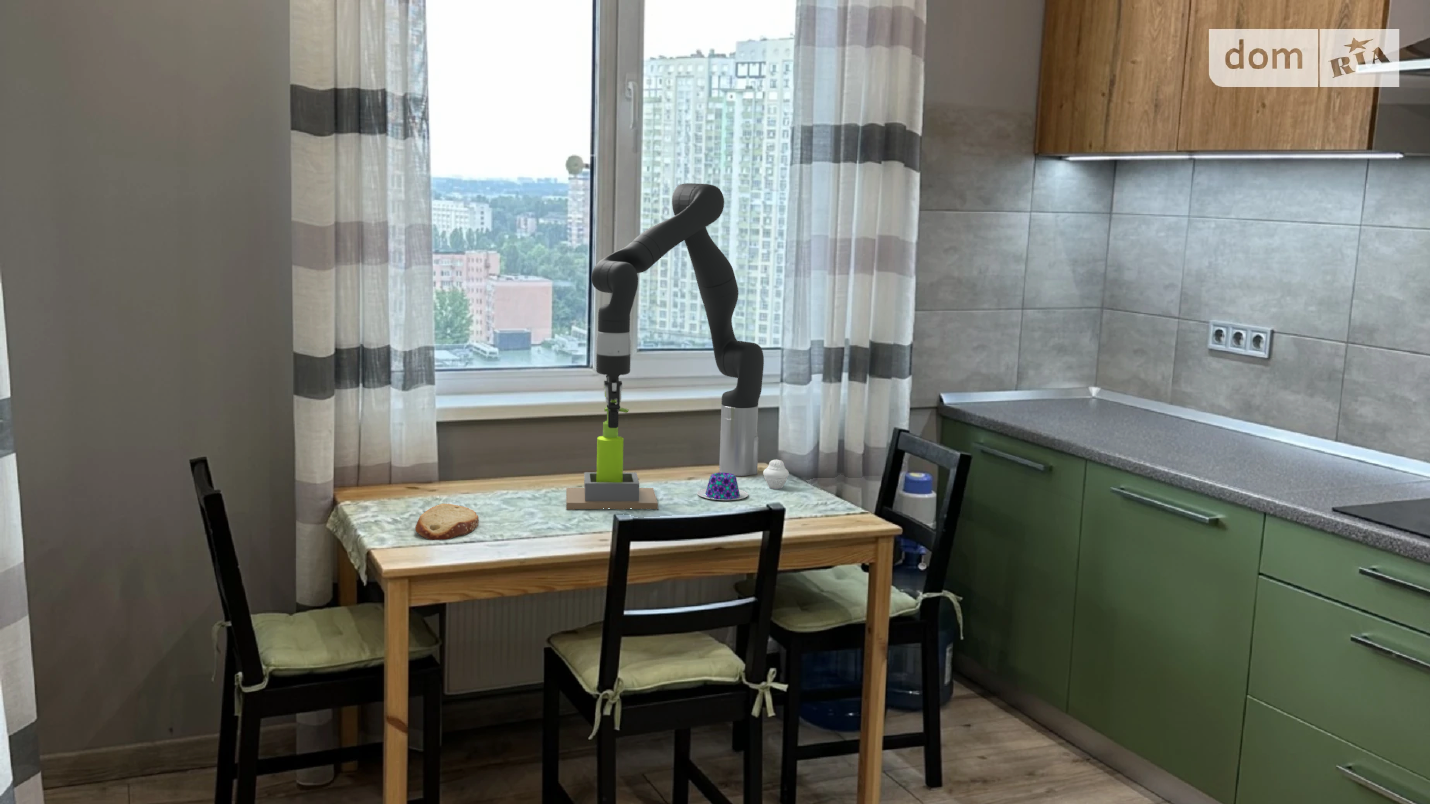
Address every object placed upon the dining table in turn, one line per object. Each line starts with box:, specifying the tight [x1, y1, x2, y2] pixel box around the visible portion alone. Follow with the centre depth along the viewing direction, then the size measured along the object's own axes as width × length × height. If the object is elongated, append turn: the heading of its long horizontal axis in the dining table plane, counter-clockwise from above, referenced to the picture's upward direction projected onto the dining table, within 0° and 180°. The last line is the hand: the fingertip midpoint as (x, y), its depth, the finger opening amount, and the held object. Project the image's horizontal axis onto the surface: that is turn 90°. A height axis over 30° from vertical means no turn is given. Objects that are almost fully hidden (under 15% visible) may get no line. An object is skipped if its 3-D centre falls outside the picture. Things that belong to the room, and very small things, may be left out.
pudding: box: [696, 472, 749, 501], centre depth 287 cm, size 12×12×5 cm
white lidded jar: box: [762, 458, 790, 490], centre depth 296 cm, size 6×6×7 cm
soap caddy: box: [565, 471, 659, 510], centre depth 277 cm, size 20×14×6 cm
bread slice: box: [414, 503, 480, 541], centre depth 254 cm, size 18×18×4 cm
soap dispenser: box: [595, 406, 630, 482], centre depth 276 cm, size 6×7×20 cm
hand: (612, 424), depth 275 cm, fingers open, 8 cm apart
